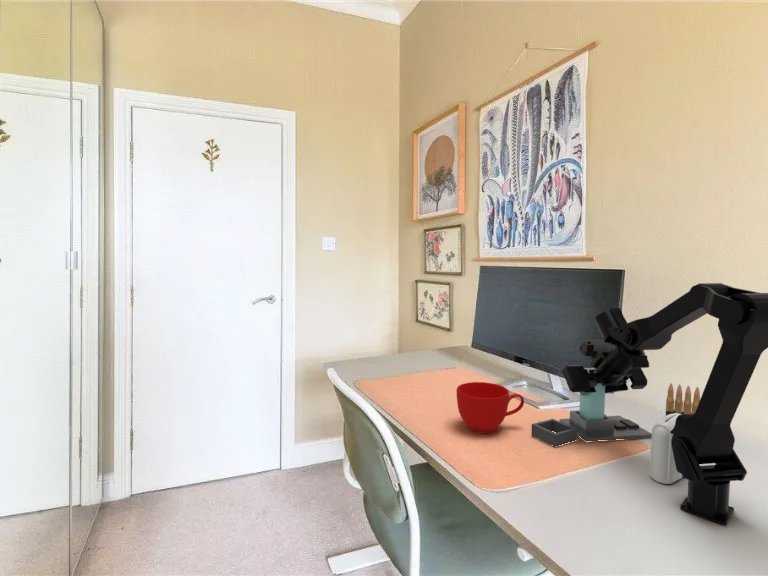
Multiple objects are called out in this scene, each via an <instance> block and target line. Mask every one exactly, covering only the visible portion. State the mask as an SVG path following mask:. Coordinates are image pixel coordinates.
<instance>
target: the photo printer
mask: <svg viewBox="0 0 768 576" xmlns="http://www.w3.org/2000/svg"><path fill="white" fill-rule="evenodd" d="M678 415H681V414H678V413H674V414H669V415H667V416H665V415H664V416H663V417H661V418H660V419H658V420H657V422H655V423H654V425H653V427H652V430H651V434H652V438H651V439H650V440H651V444H650V445H651V446H650V459H649V477H651V478H652V480H653V481H656V482H658V483H660V484H664V485H667V484H668V485H670V484H674V483H675V482H677V481H679V480H680V479H682V478H683V477H682V474H681V473H679V472H678V471H677V470H676V465H675V460H674V455H673V450H672V445H671V439H672V436H673V434H671V433H670V431H672V430H673V428H674V426H675V422H676V418H677V417H678Z"/></svg>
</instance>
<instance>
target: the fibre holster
mask: <svg viewBox="0 0 768 576" xmlns="http://www.w3.org/2000/svg"><path fill="white" fill-rule="evenodd" d="M552 431H554V432H556V433H554V432H552ZM531 435H532V436H534V437H536V438H538V439H540V440H539V441H541V440H542V441H541V442H543V441H544V442H543V443H545V442H546V443H545V444H547V443H548V444H547V445H549V444H550V445H549V446H551V445H553V446H554V447H553V446H552V447H553V448H555V447H556V446H559V445H562V444H565V443H568V442H572V441H575V440H577V441H578V436H577V429H576V428H574V427H571V426H569V425H567V424H564V423H562V422H560V421H559V420H557V419H555V418H550V419H545V420H542V421H539V422H534V423H531ZM531 435H530V436H531ZM532 436H531V437H532ZM534 437H533V438H534ZM536 438H535V439H536ZM538 439H537V440H538ZM559 447H560V446H559ZM556 448H557V447H556Z"/></svg>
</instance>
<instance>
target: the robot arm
mask: <svg viewBox="0 0 768 576" xmlns="http://www.w3.org/2000/svg"><path fill="white" fill-rule="evenodd" d="M707 314H708V315H709V316H711V317H713V318H715V319H718V322H717V327H718V330H719V334H720V335H721V338H722V343H721V346H720V348H719V351H718V353H717V356H716V358H715V361H714V363H713V367H712V369H711V371H710V374H709V376H708V379H707V381H706V383H705V387H704V389H703V391H702V394H701V395H700V401H699V404H698V406H697V409H696V411H695V413H694V414H686V415H678V417H677V418H676V422H675V426H674V428H673V430H672V431H670V433H671V434H673V436H672V439H671V445H672V450H673V455H674V460H675V465H676V470H677V471H678V472H679V473H681V474H682V478H683V479H684V480H688V481H687V483H688V484H687V496H686V498H684V500H683V501H682V503H680V506H679V508H680V510H683V511H685V512H687V513H690V514H693V515H696V516H698V517H701V518H704V519H706V520H709V521H712V522H714V523H716V524H720V525H722V526H728V523H729V522H730V519H731V518H732V516H733V514H734V512H735V508H734V507H733V506H730V505H729V504H730V503H729V501H730V490H731V489H730V487H731V482H736V481H739V482H743V481H744V479H745V478H746V476H747V473H748V471H747V468H745V466H744V464H743V463H742V461H741V459H740V458H739V455H737V453H736V451H735V450H734V446H735V442H736V441H735V440H736V439H735V435H734V433H733V431H732V426H731V423H732V421H733V420H734V417H735V415H736V413H737V410H738V407H739V405H740V403H741V401H742V398H743V397H744V394H745V392H746V389H747V387H748V385H749V382H750V381H751V378H752V376H753V373H754V371H755V369H756V367H757V365H758V362H759V359H760V357H761V356H762V354H763V353H764V351H766V350H767V349H768V292H758V291H752V290H748V289H747V290H746V289H742V288H737V287H733V286H730V285H727V284H724V283H721V282H719V283H718V282H713V283H711V282H710V283H709V282H707V283H706V282H704V283H702V282H701V283H697V284H695V285H693V286H692V287H691V288H690V289H689V290H688V291H687V292H686V293H684V294H683V295H681V296H680V297H678V298H676V299H675V300H673V301H672V302H671V303H669V304H667V305H666V306H664V307H663V308H662V309H660V310H658V311H657V312H656V313H654V314H652V315H650V316H647V317H643V318H638V319H634V320H632V321H630V322H627V320H626V317H624V313H623V311H622V308H621V307H610V308H609V310H606V311H605V310H604V311H603V312H601V313H598V314H596V315H595V317H594V318H593V320H594V323H595V325H596V327H597V329H598V330H599V333H600V334H601V337H602V339H589V340H585V341H583V342H582V343H581V344H580V346H579V352H580V353H581V355H583V357H588V358H589V359H591V361H590V363H589V364H590V366H591V368H595V369H594V370H589V373H588V372H587V369H584V368H585V367H584V365H582V364H566V365H565V366H564V367H563V368H562V371H561V372H562V374H563V377H564V380H565V383H566V385H567V387H568V389H569V391H570V392H571V393H579V395H580V394H581V396H582V395H587V394H590V393H594V392H596V390H595V386H596V385H597V384H602V386H605V395H606V394H610V393H617V392H625V391H628V390H629V387H628V385H627V383H628V381H630V382H631V385H630V388H631V389H632V390H643V389H644V388H646V387H647V385H648V378H647V377H646V374H645V373H644V371H643V369H646V368H650V361H649V359H648V355H646V352H645V351H658V350H661V349H663V348H664V347H665V346H666V345H667V344H668V343H670V342H671V341H672V337H673V334H674V333H676V332H677V331H679V330H681V329H682V328H684V327H686V326H688V325H690V324H691V323H693V322H695V321H696V320H698V319H700V318H702V317H703V316H705V315H707ZM610 344H611V345H613V347H612V346H611V345H610Z"/></svg>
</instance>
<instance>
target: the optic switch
mask: <svg viewBox="0 0 768 576" xmlns="http://www.w3.org/2000/svg"><path fill="white" fill-rule="evenodd" d="M579 412H580V409H578V410H569V418H559V420H558V421H560V422H562V423H564V424H567V425H569V426H571V427H574V428H576V429H577V435H578V436H580V437H581V438H582V439H584V440H585V441H598V440H616V439H634V440H644V439H645V440H646V439H652V432H649V431H648V430H646V429H644V428H642V427H640V425H639V424H638V423H636V422H634V421H632V420H630V419H628V418H627V419H626V418H625V417H623V416H621V415H607V414H605V413H604V419H602V420H586V419H585V418H583V417H582V416H580V415H579ZM578 436H577V437H578ZM581 438H580V439H581ZM582 439H581V440H582ZM585 441H584V442H585Z"/></svg>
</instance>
